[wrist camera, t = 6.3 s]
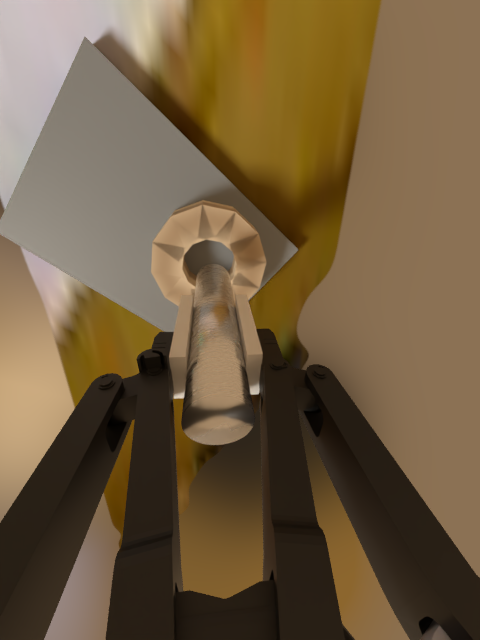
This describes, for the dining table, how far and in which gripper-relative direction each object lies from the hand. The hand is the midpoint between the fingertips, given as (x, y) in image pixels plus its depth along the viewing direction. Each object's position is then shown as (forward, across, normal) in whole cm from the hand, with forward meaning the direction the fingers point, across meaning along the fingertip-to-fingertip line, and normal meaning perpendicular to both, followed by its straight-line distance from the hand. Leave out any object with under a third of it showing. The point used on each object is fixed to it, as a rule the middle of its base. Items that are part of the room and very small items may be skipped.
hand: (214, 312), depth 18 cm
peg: (+6, 0, 0) cm, 6 cm away
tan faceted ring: (+12, 0, 0) cm, 12 cm away
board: (+13, -6, +2) cm, 14 cm away
